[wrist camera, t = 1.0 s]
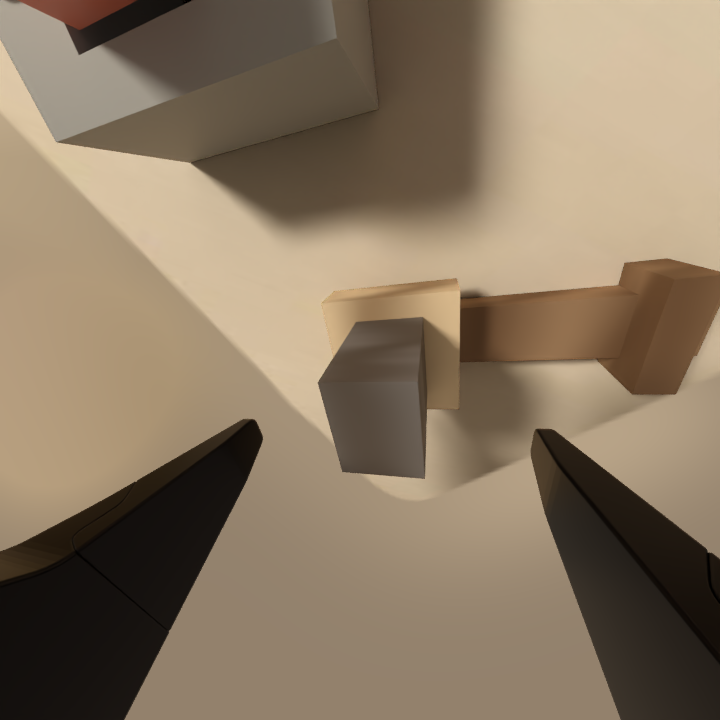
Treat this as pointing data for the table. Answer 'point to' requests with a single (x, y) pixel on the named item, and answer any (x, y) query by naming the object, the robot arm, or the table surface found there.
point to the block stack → (390, 372)
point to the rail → (603, 324)
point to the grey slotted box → (194, 72)
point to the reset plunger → (78, 10)
